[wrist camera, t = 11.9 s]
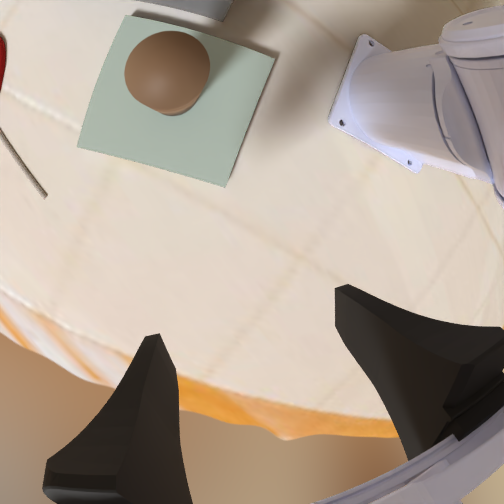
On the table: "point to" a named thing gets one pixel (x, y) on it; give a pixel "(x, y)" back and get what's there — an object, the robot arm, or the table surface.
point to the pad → (182, 126)
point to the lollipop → (0, 67)
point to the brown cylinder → (167, 72)
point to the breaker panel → (198, 6)
